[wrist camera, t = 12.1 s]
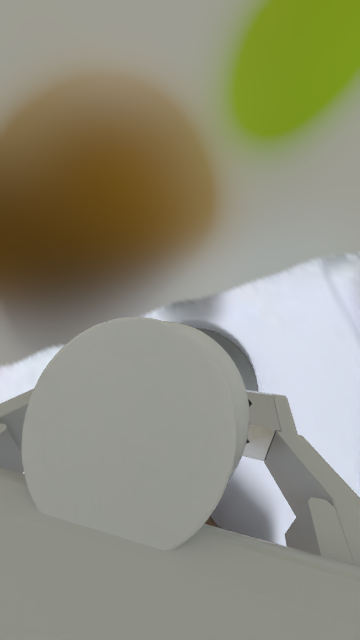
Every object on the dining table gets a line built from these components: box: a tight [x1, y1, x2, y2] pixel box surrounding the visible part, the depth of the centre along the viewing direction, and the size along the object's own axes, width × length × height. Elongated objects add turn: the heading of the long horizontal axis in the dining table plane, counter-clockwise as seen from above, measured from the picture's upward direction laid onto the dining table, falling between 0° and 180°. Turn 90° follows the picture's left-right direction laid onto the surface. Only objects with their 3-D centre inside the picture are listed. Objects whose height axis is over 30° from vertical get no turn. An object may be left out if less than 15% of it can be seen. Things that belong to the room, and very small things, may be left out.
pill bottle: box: [22, 317, 250, 551], centre depth 10 cm, size 6×6×11 cm
